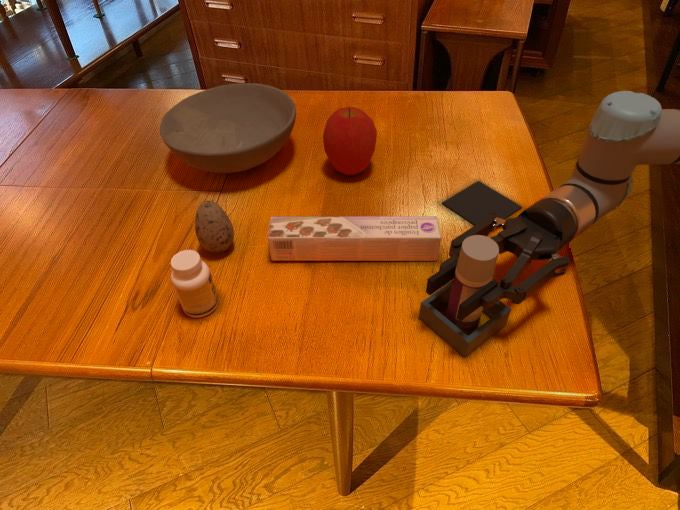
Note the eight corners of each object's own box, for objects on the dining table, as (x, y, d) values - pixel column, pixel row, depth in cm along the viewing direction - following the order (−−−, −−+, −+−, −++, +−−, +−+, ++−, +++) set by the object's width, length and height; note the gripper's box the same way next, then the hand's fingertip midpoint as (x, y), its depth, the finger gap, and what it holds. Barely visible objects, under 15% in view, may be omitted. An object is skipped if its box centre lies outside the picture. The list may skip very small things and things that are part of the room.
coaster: (521, 208, 87) (522, 206, 87) (484, 232, 83) (485, 231, 83) (478, 182, 93) (478, 180, 92) (441, 204, 88) (442, 202, 88)
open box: (505, 324, 70) (511, 309, 67) (464, 357, 66) (468, 343, 63) (459, 287, 74) (463, 272, 72) (418, 317, 71) (420, 302, 68)
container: (445, 306, 72) (460, 232, 61) (477, 309, 71) (498, 235, 61) (445, 332, 69) (461, 259, 58) (479, 335, 68) (501, 262, 58)
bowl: (263, 208, 89) (254, 163, 82) (145, 179, 96) (128, 135, 89) (320, 135, 106) (317, 92, 98) (216, 114, 113) (206, 73, 106)
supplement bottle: (225, 307, 73) (211, 263, 66) (191, 324, 71) (173, 280, 64) (210, 285, 76) (195, 240, 69) (177, 301, 74) (158, 256, 67)
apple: (384, 178, 94) (387, 113, 84) (335, 190, 92) (332, 125, 82) (364, 150, 101) (364, 87, 91) (318, 161, 99) (313, 97, 89)
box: (434, 238, 82) (438, 213, 78) (438, 261, 78) (442, 235, 74) (273, 240, 83) (269, 215, 79) (270, 263, 79) (265, 238, 75)
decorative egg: (242, 239, 83) (231, 193, 76) (228, 263, 79) (216, 217, 72) (210, 233, 84) (197, 188, 77) (195, 257, 80) (179, 212, 73)
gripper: (600, 272, 69) (493, 362, 59) (500, 210, 79) (394, 278, 69) (621, 234, 64) (507, 326, 54) (510, 172, 73) (397, 241, 64)
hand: (444, 299), depth 62 cm, fingers closed on container, 5 cm apart
